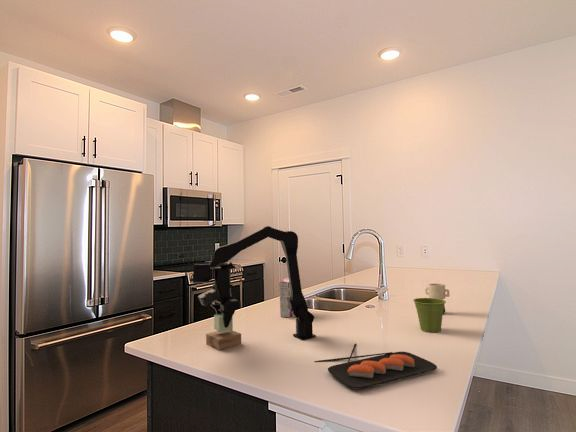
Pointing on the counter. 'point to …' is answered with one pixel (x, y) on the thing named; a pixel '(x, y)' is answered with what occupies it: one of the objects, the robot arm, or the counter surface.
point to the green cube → (221, 323)
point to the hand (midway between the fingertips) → (223, 325)
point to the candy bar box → (284, 297)
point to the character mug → (437, 292)
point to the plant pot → (430, 313)
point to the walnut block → (223, 339)
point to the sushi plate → (378, 368)
